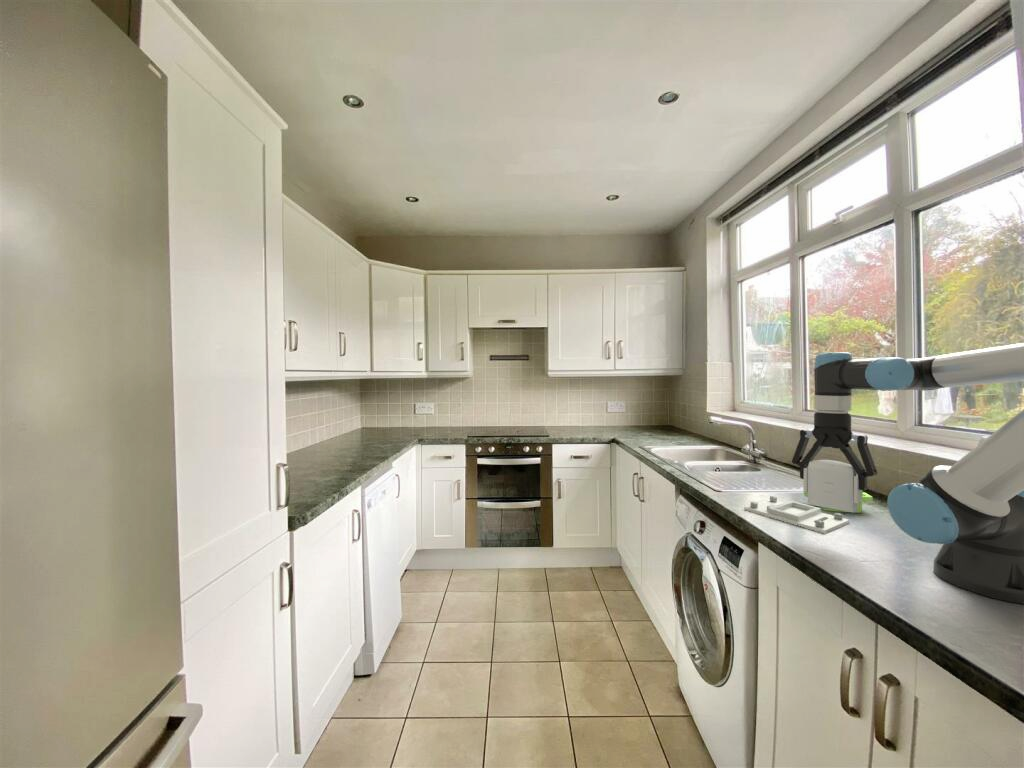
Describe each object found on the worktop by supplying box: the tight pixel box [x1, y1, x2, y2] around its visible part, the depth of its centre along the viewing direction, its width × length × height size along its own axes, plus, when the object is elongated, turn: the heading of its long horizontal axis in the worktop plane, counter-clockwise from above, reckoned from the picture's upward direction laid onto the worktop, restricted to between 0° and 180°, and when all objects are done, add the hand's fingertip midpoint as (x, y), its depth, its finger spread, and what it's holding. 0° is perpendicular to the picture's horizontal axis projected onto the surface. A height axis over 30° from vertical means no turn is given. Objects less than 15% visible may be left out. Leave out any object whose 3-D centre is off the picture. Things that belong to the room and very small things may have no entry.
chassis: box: [743, 496, 850, 535], centre depth 122 cm, size 22×16×2 cm
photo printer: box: [807, 459, 858, 514], centre depth 102 cm, size 10×4×12 cm, turn 39°
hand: (831, 496), depth 102 cm, fingers closed on photo printer, 10 cm apart
